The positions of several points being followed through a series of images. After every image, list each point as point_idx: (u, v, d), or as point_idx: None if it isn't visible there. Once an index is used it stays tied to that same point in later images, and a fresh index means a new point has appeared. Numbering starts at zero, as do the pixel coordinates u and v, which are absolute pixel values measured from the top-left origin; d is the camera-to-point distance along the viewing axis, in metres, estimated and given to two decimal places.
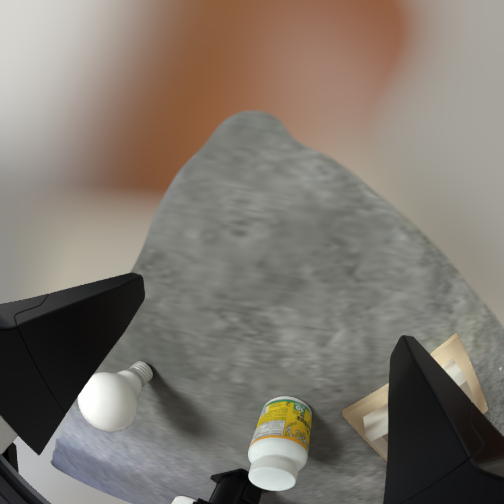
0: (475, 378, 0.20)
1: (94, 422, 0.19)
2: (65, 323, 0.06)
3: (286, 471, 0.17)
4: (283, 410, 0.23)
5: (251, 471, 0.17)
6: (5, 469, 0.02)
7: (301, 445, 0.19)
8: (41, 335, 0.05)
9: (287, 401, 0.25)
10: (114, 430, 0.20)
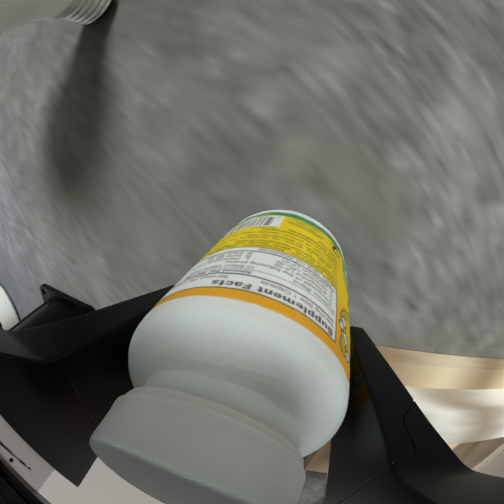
0: None
1: None
2: (111, 347, 0.06)
3: None
4: (328, 255, 0.08)
5: (123, 447, 0.03)
6: (5, 469, 0.02)
7: None
8: (86, 364, 0.05)
9: (333, 242, 0.10)
10: None
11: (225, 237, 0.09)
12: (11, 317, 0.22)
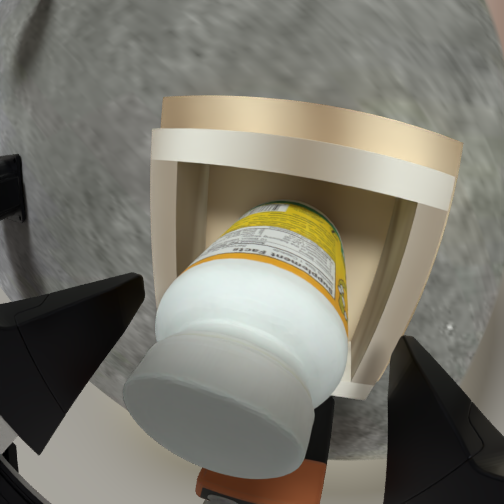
0: None
1: None
2: (65, 323, 0.06)
3: (303, 454, 0.04)
4: (327, 236, 0.09)
5: (163, 376, 0.04)
6: (5, 469, 0.02)
7: None
8: (41, 335, 0.05)
9: (332, 227, 0.11)
10: None
11: (238, 221, 0.10)
12: None
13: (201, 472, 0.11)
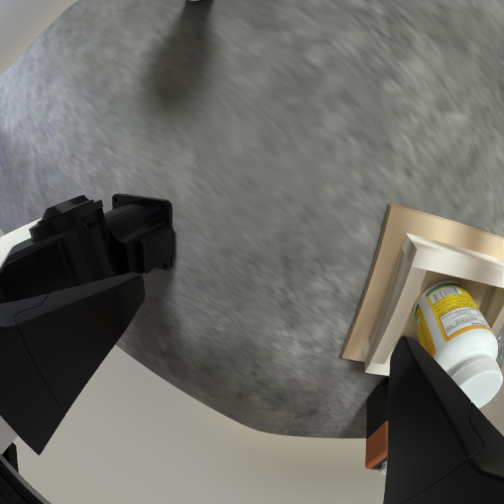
0: None
1: None
2: (65, 323, 0.06)
3: (499, 387, 0.10)
4: None
5: (483, 372, 0.10)
6: (5, 469, 0.02)
7: None
8: (41, 335, 0.05)
9: None
10: None
11: (442, 299, 0.16)
12: None
13: (387, 445, 0.17)
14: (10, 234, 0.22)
